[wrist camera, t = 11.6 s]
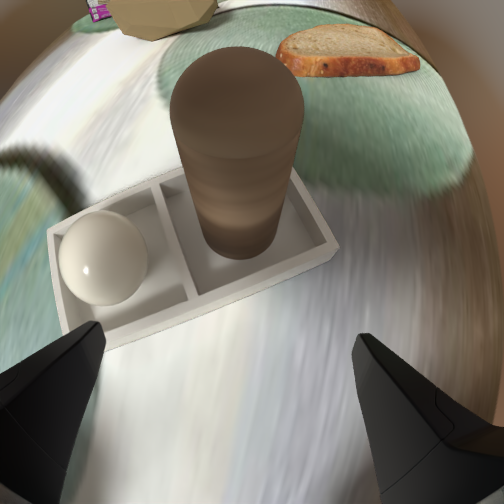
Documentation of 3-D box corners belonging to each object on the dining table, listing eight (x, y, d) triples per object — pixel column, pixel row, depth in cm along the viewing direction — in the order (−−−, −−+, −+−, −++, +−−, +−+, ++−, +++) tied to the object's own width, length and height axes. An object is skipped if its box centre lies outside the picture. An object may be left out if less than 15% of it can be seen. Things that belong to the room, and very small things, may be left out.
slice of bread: (264, 71, 27) (265, 44, 23) (302, 20, 33) (305, 1, 29) (421, 126, 25) (436, 103, 21) (414, 58, 31) (422, 40, 27)
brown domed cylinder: (289, 242, 19) (346, 83, 7) (218, 271, 18) (179, 122, 6) (258, 183, 20) (271, 20, 9) (191, 207, 20) (146, 46, 8)
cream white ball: (170, 295, 18) (140, 269, 12) (97, 324, 17) (48, 309, 11) (147, 221, 19) (117, 176, 14) (81, 251, 18) (38, 218, 13)
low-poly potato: (108, 46, 30) (99, 42, 22) (115, -15, 24) (110, -36, 16) (204, 43, 36) (224, 39, 28) (212, -15, 29) (235, -34, 21)
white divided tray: (329, 260, 19) (340, 247, 17) (88, 357, 16) (68, 356, 14) (271, 157, 22) (273, 136, 20) (63, 242, 19) (46, 229, 17)
